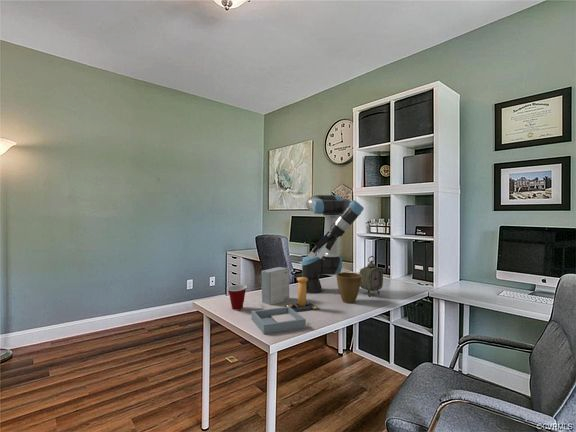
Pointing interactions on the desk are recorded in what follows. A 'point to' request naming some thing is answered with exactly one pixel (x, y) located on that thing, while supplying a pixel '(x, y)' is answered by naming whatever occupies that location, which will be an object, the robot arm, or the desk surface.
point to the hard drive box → (275, 285)
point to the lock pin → (302, 291)
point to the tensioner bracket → (302, 309)
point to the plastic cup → (237, 296)
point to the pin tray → (270, 325)
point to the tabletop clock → (371, 277)
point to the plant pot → (348, 286)
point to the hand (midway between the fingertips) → (314, 257)
